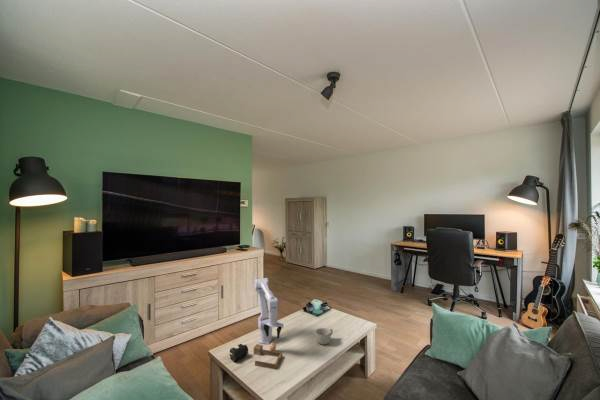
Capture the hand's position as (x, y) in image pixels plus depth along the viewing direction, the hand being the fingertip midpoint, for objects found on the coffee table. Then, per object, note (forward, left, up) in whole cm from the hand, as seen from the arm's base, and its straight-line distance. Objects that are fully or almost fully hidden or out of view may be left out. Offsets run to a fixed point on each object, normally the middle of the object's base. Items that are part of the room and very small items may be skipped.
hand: (272, 336), depth 172 cm
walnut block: (+4, -9, -10) cm, 14 cm away
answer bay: (+10, +1, -10) cm, 14 cm away
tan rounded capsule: (0, 0, -10) cm, 10 cm away
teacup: (-21, +32, -10) cm, 40 cm away
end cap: (+12, -19, -10) cm, 25 cm away
